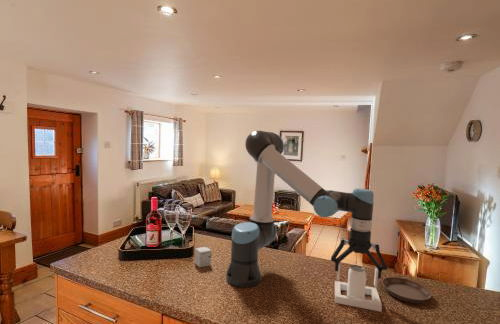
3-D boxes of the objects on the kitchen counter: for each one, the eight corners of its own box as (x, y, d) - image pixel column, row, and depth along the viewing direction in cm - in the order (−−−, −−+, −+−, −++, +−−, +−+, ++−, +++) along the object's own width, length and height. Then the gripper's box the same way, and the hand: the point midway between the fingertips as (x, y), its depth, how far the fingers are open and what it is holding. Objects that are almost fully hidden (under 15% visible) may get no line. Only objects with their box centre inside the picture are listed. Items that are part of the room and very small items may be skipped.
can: (366, 303, 103) (368, 272, 102) (348, 301, 104) (350, 270, 103) (362, 295, 109) (364, 265, 108) (345, 292, 110) (347, 263, 110)
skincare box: (199, 267, 127) (199, 252, 126) (194, 262, 132) (194, 248, 132) (211, 265, 130) (211, 250, 130) (205, 260, 135) (206, 246, 135)
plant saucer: (435, 295, 112) (435, 288, 112) (425, 312, 99) (425, 304, 99) (389, 279, 124) (389, 273, 124) (375, 293, 112) (375, 285, 111)
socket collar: (335, 302, 102) (335, 296, 102) (334, 286, 115) (334, 280, 115) (381, 311, 98) (381, 304, 98) (375, 293, 110) (376, 287, 110)
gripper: (327, 227, 105) (323, 280, 106) (398, 236, 98) (393, 293, 99) (327, 222, 112) (323, 272, 113) (394, 230, 105) (389, 284, 106)
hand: (356, 282), depth 106 cm, fingers open, 13 cm apart
